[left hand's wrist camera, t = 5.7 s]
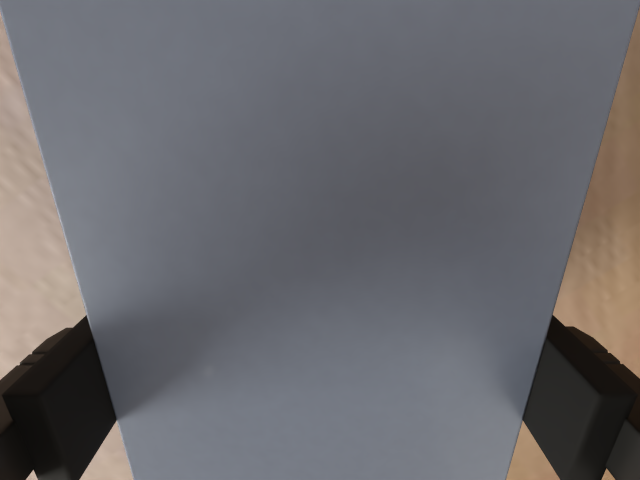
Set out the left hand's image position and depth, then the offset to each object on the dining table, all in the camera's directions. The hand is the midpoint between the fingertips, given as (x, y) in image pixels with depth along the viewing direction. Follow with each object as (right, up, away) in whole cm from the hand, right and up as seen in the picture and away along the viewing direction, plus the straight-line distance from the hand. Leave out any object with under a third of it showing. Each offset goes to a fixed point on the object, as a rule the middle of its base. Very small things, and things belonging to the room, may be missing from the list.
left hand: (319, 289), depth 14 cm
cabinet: (0, +6, +1) cm, 7 cm away
